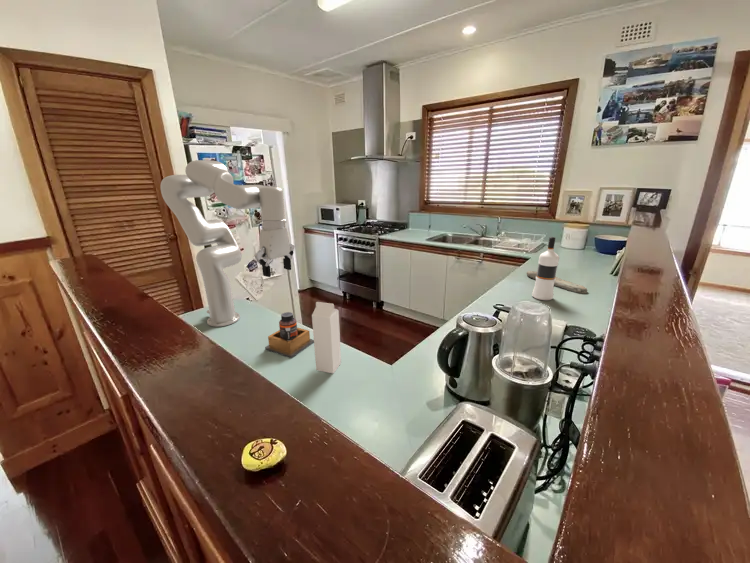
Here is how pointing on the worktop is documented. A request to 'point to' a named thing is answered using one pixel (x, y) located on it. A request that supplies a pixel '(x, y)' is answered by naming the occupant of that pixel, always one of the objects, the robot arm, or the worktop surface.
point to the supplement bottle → (288, 326)
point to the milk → (326, 337)
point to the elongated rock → (562, 283)
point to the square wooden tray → (289, 343)
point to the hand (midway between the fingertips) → (277, 272)
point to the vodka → (546, 273)
